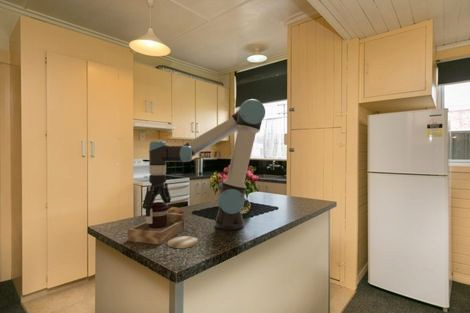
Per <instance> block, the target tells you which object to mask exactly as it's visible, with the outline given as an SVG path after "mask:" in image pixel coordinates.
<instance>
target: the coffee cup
mask: <svg viewBox="0 0 470 313" xmlns="http://www.w3.org/2000/svg"><path fill="white" fill-rule="evenodd" d="M151 209H152V224H148V226H149V231H159V232H160V231H162V230H164V229H166V226H167V215H168V214H167V210H169V209H170V208H169V204H168V205H166V204H165V203H164V202H163V201H157V202H156V201H154V202H153V205H152V207H151Z"/></svg>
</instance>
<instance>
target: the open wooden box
mask: <svg viewBox="0 0 470 313" xmlns="http://www.w3.org/2000/svg"><path fill="white" fill-rule="evenodd" d="M184 230H185V214H184V213H183V214H175V213H168V216H167V226H166V229H164V230H162V231H160V232H159V231H149V226H148V223H146V221H144V222H142V223H140V224H137V225H135V226H133V227H131V228H128V229H127V241H128V242H136V243H142V244H143V243H145V244H154V245H163V244H165V243H166V242H168V240H170V239H172V238H175V237H176V236H177V235H178V234H180V233H182V232H183V231H184Z"/></svg>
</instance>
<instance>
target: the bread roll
mask: <svg viewBox="0 0 470 313" xmlns="http://www.w3.org/2000/svg"><path fill="white" fill-rule="evenodd" d="M168 213H175V214H184V212H183V210H182V209H180V208H179V207H175V206H174V207H172V206H171V207H170V208H169V209H168Z"/></svg>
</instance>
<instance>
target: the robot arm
mask: <svg viewBox="0 0 470 313" xmlns="http://www.w3.org/2000/svg"><path fill="white" fill-rule="evenodd" d="M265 116H266V108H265V106H264V105H263V103H262V102H261V100H257V99H256V98H255V99H253V98H251V99H247V100H245V101H244V102H242V103H241V104H240V106H239V108H238V110H237V111H236V112H234V113H233V114H232V115H230V118H228V119H227V120H225V121H223V122H222V123H220V124H218V125H216V126H215V127H213V128H211V129H209V130H208V131H206V132H204V133H202V134H201V135H198V136H197V137H194V139H191V140H189V141H188V142H186V143H184V144H183V145H167V143H166V141H164V140H163V141H162V140H161V141H160V140H158V141H157V140H154V141H150V142H149V148H148V149H149V150H148V153H149V158H148V159H149V162H148V164H149V169H148V170H149V176H148V177H149V179H148V181H149V183H150V184H151V185H148V186H146V193H145V194H144V200H143V203H142V209H143V210H145V222H146V223H148V224H152V209H151V207H152V205H153V203H154V202H155V201H156V198H157V196H158V195H159V196H160V198H161V200H162V202H164V203H165V204H166V205H168V206H169V203H171V200H172V198H171V194H170V190H169V185H168V183H166V182H167V175H166V173H167V162H168V163H169V162H175V163H177V162H179V163H186V162H187V163H188V162H191V161H192V160H193V158H192V157H194V156H196V155H198V154H200V153H201V152H203V151H205V150H206V149H208V148H210V147H212V146H213V145H216V143H218V142H221V141H222V140H224V139H226V138H228V137H230V136H231V135H233V134H235V133H236V132H237V133H236V138H235V142H234V146H233V151H232V154H231V159H230V163H229V167H228V171H227V175H226V176H227V177H226V178H225V179H224V180H223V181H222V182H219V184H218V187H217V188H218V199H217V200H218V212H217V215H216V218H215V222H214V223H215V224H214V225H215V226H214V227H216V228H217V229H220V230H224V231H225V230H226V231H227V230H228V231H230V230H231V231H232V230H238V229H239V230H240V229H242V228H243V227H244V226H245V222H244V218H243V214H242V212H241V210H242V209H243V208H244V205H245V194H246V191H247V185H246V184H245V181H246V177H247V172H248V168H249V164H250V159H251V155H252V151H253V146H254V143H255V137H256V134H258V133H260V130H261V127H262V124H263V123H262V122H263V120H264V118H265ZM168 210H169V209H168ZM168 210H167V214H168ZM167 216H168V215H167Z"/></svg>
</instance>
